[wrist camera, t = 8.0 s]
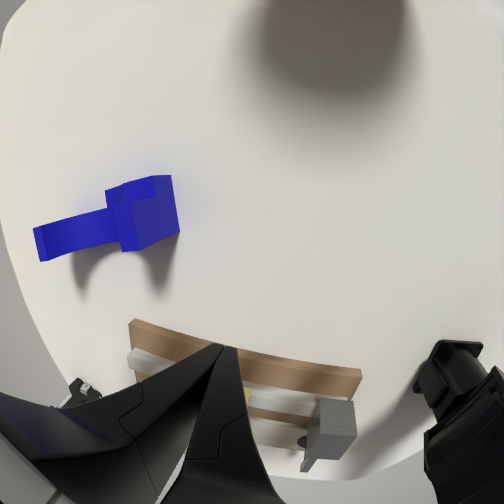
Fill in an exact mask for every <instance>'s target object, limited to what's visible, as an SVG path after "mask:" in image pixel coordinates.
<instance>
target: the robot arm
mask: <svg viewBox="0 0 504 504" xmlns="http://www.w3.org/2000/svg"><path fill="white" fill-rule="evenodd" d="M442 344H443V345H442ZM441 345H442V346H441ZM482 349H483V344H482V343H481V342H470V341H455V340H440V341H439V342H438V343H437V345H436V347H435V349H434V351H433V353H432V355H431V357H430V359H429V361H428V363H427V365H426V366H425V368H424V370H423V372H422V373H421V375H420V377H419V379H418V380H417V382H416V384H415V385H414V387H413V392H414V393H416V394H424V396H425V399H426V401H427V404H428V406H429V408H432V410H433V413H434V415H435V418H436V421H437V424H436V425H435V426H433V427H432V428H431V429H430V430H429V429H428V430H427V431H426V432H425V433H424V471H425V473H426V475H427V476H428V478H429V480H430V481H431V482H432V484H433V486H434V489H435V493H436V497H437V502H438V504H504V373H503V372H502V371H501V370H500V369H499V368H498V367H497V366H494V367H493V368H492V369H491V372H490V373H489V374H488V373H487V372H486V370H485V369H484V367H483V366H482V364H481V363H480V362H479V360H478V359H477V358H478V356H479V354H480V352H481V350H482ZM188 444H189V445H188ZM187 446H188V449H187V452H186V455H185V459H184V462H183V465H182V468H181V471H180V473H179V475H178V477H177V478H176V480H175V482H174V483H173V485H172V486H171V488H170V489H169V491H168V492H167V494H166V495H165V497H164V498H163V500H162V501H161V503H160V504H286V503H284V501H283V500H282V499H281V498H280V497H279V496H278V494H277V493H276V491H275V489H274V487H273V485H272V483H271V481H270V479H269V477H268V474H267V472H266V469H265V467H264V465H263V462H262V460H261V457H260V455H259V452H258V449H257V447H256V444H255V441H254V438H253V434H252V429H251V425H250V420H249V416H248V410H247V404H246V398H245V392H244V387H243V381H242V375H241V369H240V362H239V356H238V350H237V348H235V347H231V346H224V345H223V344H219V343H215V342H214V343H211V344H209V345H208V346H206V347H204V348H202V349H201V350H199V351H197V352H195V353H193V354H191V355H190V356H188V357H186V358H184V359H182V360H180V361H179V362H177V363H175V364H173V365H171V366H169V367H167V368H165V369H164V370H162V371H160V372H158V373H156V374H154V375H152V376H150V377H148V378H146V379H144V380H142V381H141V382H138V383H136V384H134V385H132V386H130V387H128V388H125V389H123V390H121V391H119V392H116V393H113V394H111V395H108V396H105V397H102V398H99V399H96V400H93V401H90V402H86V403H83V404H80V405H77V406H73V407H69V408H53V407H48V406H44V405H40V404H36V403H32V402H29V401H26V400H22V399H19V398H15V397H12V396H9V395H7V394H4V393H1V392H0V504H155V502H156V501H157V499H158V496H159V495H160V494H161V492H162V490H163V488H164V487H165V485H166V483H167V481H168V480H169V478H170V476H171V474H172V472H173V471H174V469H175V467H176V465H177V464H178V462H179V460H180V458H181V456H182V455H183V453H184V451H185V449H186V447H187Z"/></svg>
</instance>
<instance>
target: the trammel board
mask: <svg viewBox="0 0 504 504" xmlns="http://www.w3.org/2000/svg"><path fill="white" fill-rule="evenodd" d="M128 325H129V334H130V342H131V349H132V351H131V352H130V353H129V354H128V355H127V359H128V365H129V368H131V369H133V370H135V375H136V381H137V383H138V382H141V381H142V380H144V379H146V378H148V377H150V376H152V375H154V374H156V373H158V372H160V371H162V370H164V369H165V368H167V367H169V366H171V365H173V364H175V363H177V362H179V361H180V360H182V359H184V358H186V357H188V356H190V355H191V354H193V353H195V352H197V351H199V350H201V349H202V348H204V347H206V346H208V345H209V344H211V343H214V342H210V341H207V340H203V339H199V338H196V337H192V336H189V335H185V334H182V333H178V332H175V331H172V330H168V329H165V328H162V327H159V326H156V325H153V324H150V323H147V322H144V321H141V320H138V319H134V320H133V321H131V322H130V323H129V324H128ZM224 346H226V345H224ZM237 350H238V356H239V362H240V369H241V375H242V381H243V387H247V388H251V389H252V391H251V396H250V400H249V405H248V416H249V420H250V425H251V429H252V434H253V438H254V441H255V443H256V444H262V445H267V446H273V447H279V448H286V449H293V450H301V451H305V442H306V441H307V429H308V423H309V421H310V419H311V417H312V415H313V412H314V410H315V408H316V406H317V404H318V402H319V400H320V398H328V399H337V400H347V401H351V399H352V397H353V395H354V393H355V391H356V389H357V387H358V386H359V384H360V382H361V380H362V373H361V369H354V368H345V367H337V366H330V365H323V364H316V363H310V362H304V361H298V360H292V359H287V358H281V357H276V356H271V355H266V354H261V353H257V352H252V351H247V350H243V349H239V348H237Z"/></svg>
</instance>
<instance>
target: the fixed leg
mask: <svg viewBox="0 0 504 504" xmlns="http://www.w3.org/2000/svg"><path fill="white" fill-rule="evenodd" d="M356 437H357V428H356V419H355V411H354V403H353V401H347V400H337V399H328V398H320V400H319V402H318V404H317V406H316V408H315V410H314V412H313V415H312V417H311V419H310V421H309V423H308V429H307V441H306V442H305V455H304V460H303V462H302V463H301V466H300V472H308V471H309V470H310V468H311V467H312V466H313V464H314V463H315V461H316V460H317V459H330V460H339V459H340V458H341V457H342V455H343V454H344V453H345V452H346V450H347V449H348V448H349V446H350V445H351V444H352V442H353V441H354V440H355V438H356Z"/></svg>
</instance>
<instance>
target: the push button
mask: <svg viewBox="0 0 504 504" xmlns="http://www.w3.org/2000/svg"><path fill="white" fill-rule="evenodd" d="M69 389H70V392H71V394H70V393H69V394H68V396H67V398H65V399H64V400H63V401H62V402H61V404H60V405H59V406H58V407H57V408H69V407H73V406H77V405H80V404H83V403H86V402H90V401H93V400H96V399H99V398H101V394H100V392H98V391H96V390H95V389H93V388H92V387H90V385H89V384H87V383H84V382H82V380H81V379H80V378H77V379H76V380H75V381H74V382H72V383H71V384H70V385H69ZM50 407H53V406H50ZM53 408H55V407H53Z"/></svg>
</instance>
